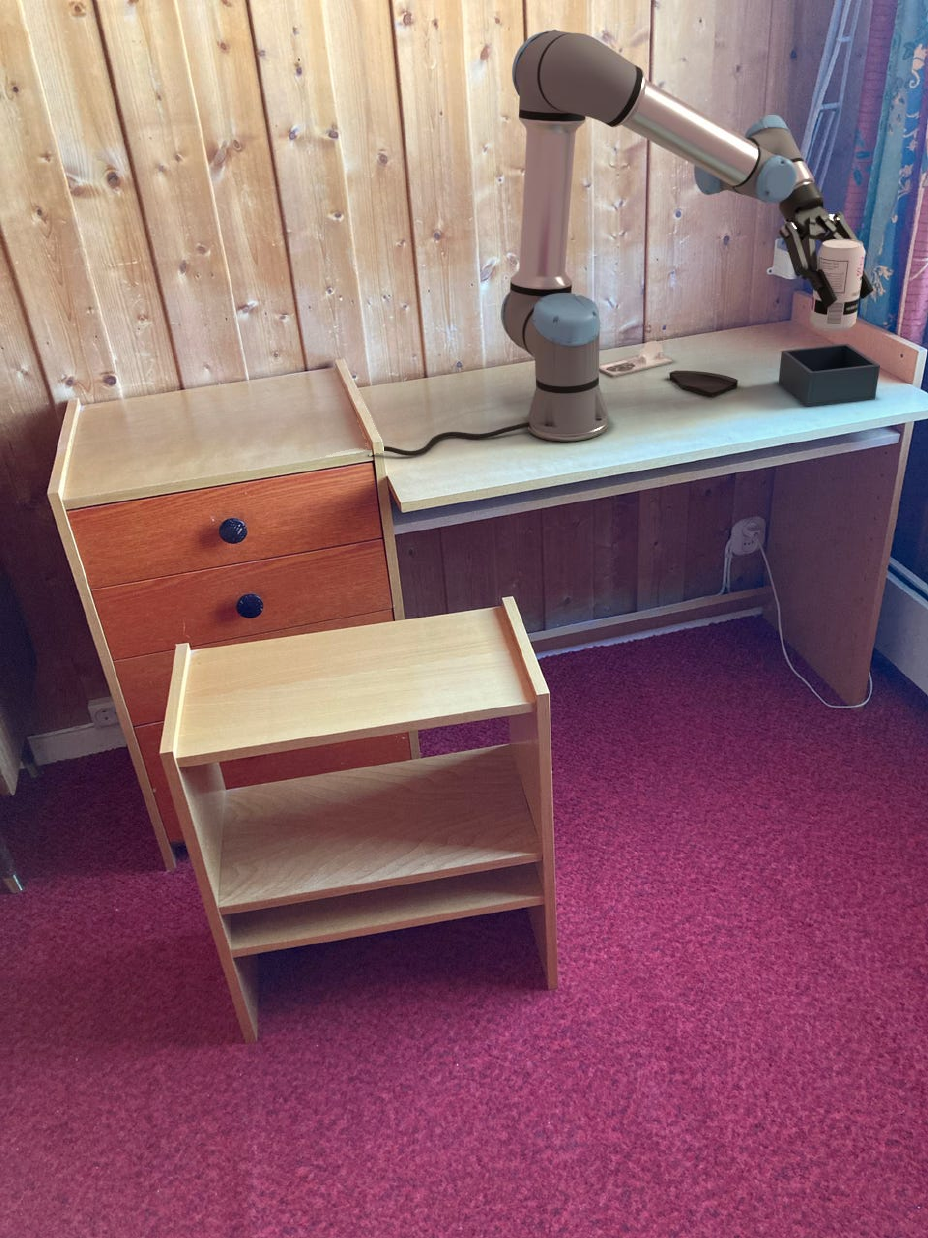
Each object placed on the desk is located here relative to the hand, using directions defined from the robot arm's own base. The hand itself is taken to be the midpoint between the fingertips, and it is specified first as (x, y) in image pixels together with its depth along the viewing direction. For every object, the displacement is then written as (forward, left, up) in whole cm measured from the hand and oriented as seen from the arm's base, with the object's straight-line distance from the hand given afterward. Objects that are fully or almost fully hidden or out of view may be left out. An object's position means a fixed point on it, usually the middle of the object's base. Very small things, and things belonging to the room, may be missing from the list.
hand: (849, 299), depth 192 cm
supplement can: (-1, +3, -6) cm, 7 cm away
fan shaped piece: (-22, +13, -19) cm, 32 cm away
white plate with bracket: (-32, +29, -19) cm, 47 cm away
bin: (-1, +3, -18) cm, 19 cm away
